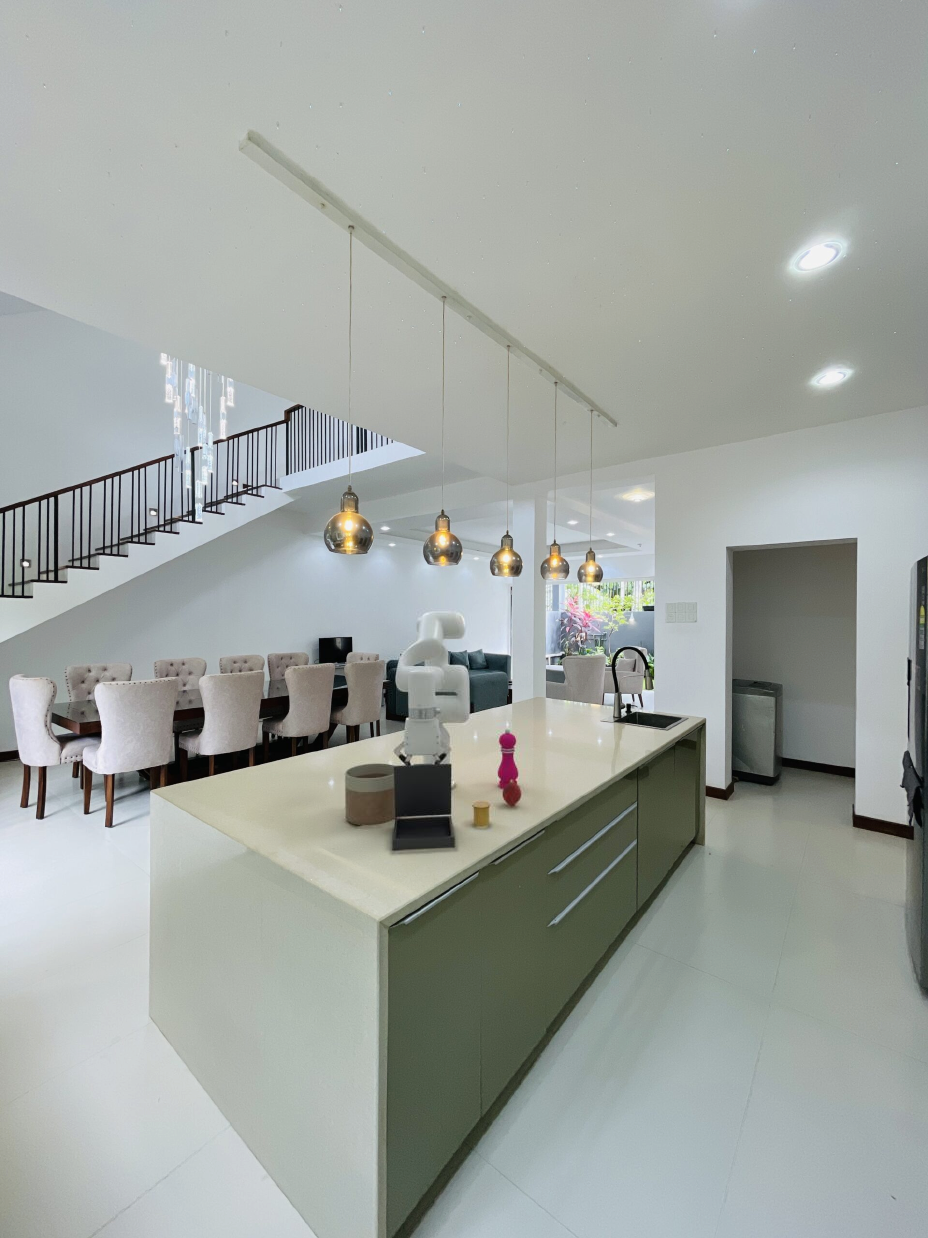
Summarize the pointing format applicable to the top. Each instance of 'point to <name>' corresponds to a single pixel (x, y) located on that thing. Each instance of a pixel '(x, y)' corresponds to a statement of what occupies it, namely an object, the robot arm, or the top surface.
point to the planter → (370, 794)
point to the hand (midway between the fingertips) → (422, 777)
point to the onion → (511, 793)
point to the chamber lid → (422, 790)
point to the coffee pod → (481, 813)
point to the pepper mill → (507, 759)
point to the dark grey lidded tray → (423, 833)
